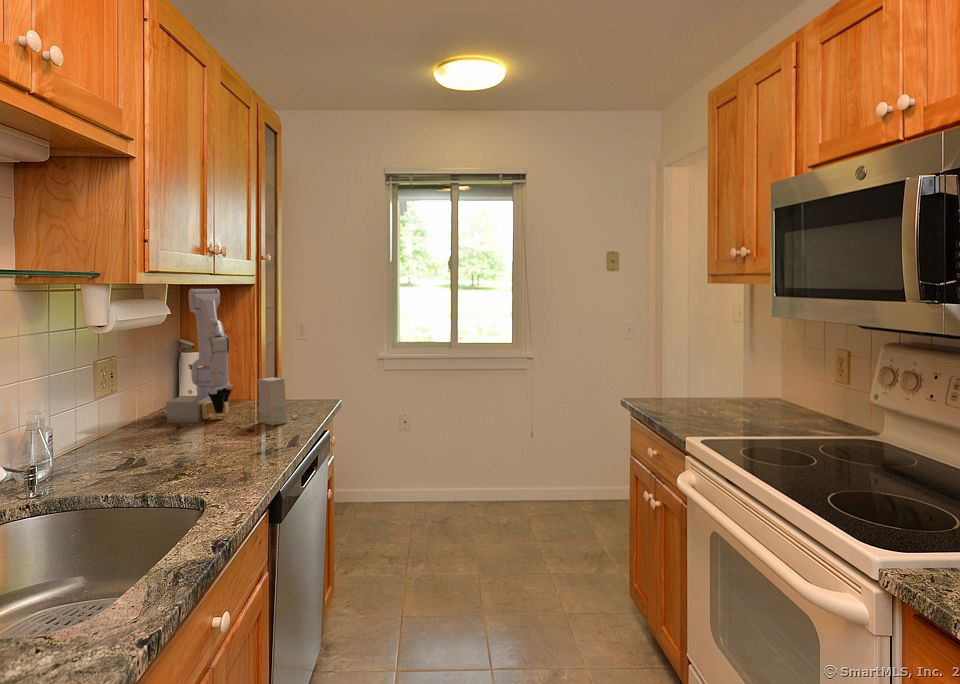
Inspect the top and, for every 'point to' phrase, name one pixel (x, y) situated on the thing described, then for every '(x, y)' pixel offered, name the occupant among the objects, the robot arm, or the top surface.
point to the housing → (186, 409)
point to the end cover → (212, 409)
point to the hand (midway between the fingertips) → (220, 411)
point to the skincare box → (272, 401)
